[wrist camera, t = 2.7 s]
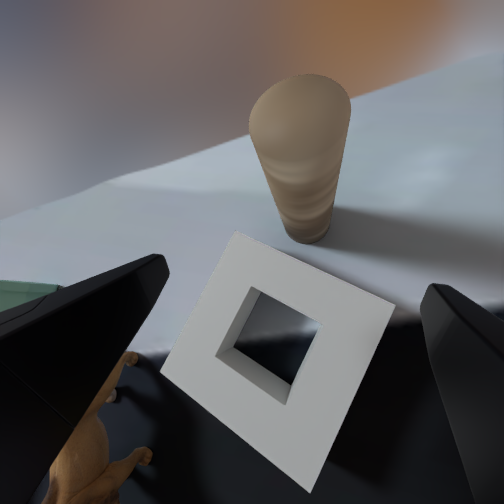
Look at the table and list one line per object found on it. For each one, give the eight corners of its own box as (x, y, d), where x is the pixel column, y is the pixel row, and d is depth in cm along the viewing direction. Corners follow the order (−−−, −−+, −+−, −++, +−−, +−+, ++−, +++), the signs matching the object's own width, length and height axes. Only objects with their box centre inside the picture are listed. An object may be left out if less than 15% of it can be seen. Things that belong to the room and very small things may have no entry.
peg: (337, 211, 21) (368, 84, 9) (317, 251, 20) (322, 174, 8) (296, 196, 22) (275, 67, 10) (277, 233, 22) (232, 145, 10)
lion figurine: (180, 506, 19) (68, 674, 10) (127, 527, 19) (-21, 702, 11) (133, 330, 23) (29, 344, 15) (91, 352, 24) (-32, 378, 15)
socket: (378, 305, 18) (395, 305, 14) (310, 451, 17) (310, 493, 13) (248, 243, 22) (235, 230, 18) (187, 360, 21) (159, 371, 17)
